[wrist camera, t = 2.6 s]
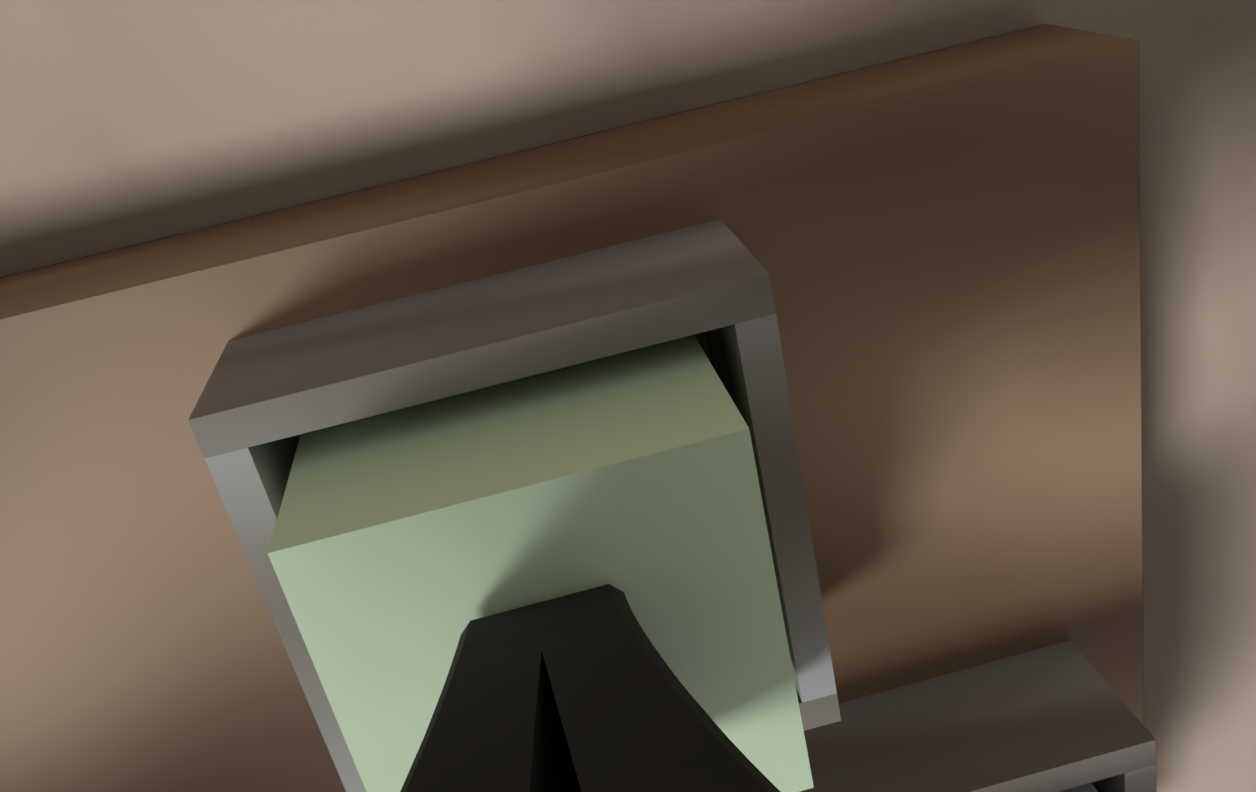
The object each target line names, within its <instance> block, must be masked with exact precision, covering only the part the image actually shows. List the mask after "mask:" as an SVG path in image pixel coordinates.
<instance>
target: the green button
mask: <svg viewBox="0 0 1256 792" xmlns="http://www.w3.org/2000/svg"><path fill="white" fill-rule="evenodd" d="M268 556H269V558H270V561H271V563H272V565H273V568H274V570H275V573H276V575H277V577H278V580H279V582H280V585H281V587H282V589H283V592H284V594H285V597H286V599H287V601H288V604H289V606H290V609H291V611H292V614H293V616H294V618H295V621H296V623H297V626H298V628H299V630H300V633H301V635H302V638H303V640H304V642H305V645H306V647H307V650H308V652H309V655H310V657H311V659H312V662H313V664H314V667H315V669H316V671H317V674H318V676H319V679H320V681H321V683H322V686H323V688H324V691H325V693H326V696H327V698H328V700H329V703H330V705H331V708H332V710H333V712H334V715H335V717H336V720H337V722H338V724H339V727H340V729H341V732H342V734H343V736H344V739H345V741H346V744H347V746H348V749H349V751H350V753H351V756H352V758H353V761H354V763H355V765H356V768H357V770H358V773H359V775H360V777H361V780H362V782H363V785H364V787H365V790H366V792H400V791H401V789H402V787H403V784H404V782H405V780H406V777H407V775H408V773H409V771H410V768H411V766H412V764H413V761H414V759H415V757H416V755H417V752H418V750H419V748H420V745H421V743H422V741H423V738H424V736H425V733H426V731H427V728H428V726H429V723H430V721H431V718H432V715H433V713H434V710H435V708H436V705H437V703H438V700H439V697H440V695H441V692H442V689H443V687H444V684H445V681H446V678H447V675H448V673H449V670H450V667H451V664H452V661H453V658H454V655H455V652H456V649H457V646H458V642H459V639H460V636H461V634H462V632H463V631H464V629H465V628H466V626H467V625H468V623H469V622H470V621H471V620H475V619H478V618H482V617H486V616H490V615H493V614H497V613H501V612H505V611H509V610H512V609H516V608H520V607H524V606H527V605H531V604H535V603H539V602H542V601H546V600H550V599H554V598H558V597H561V596H565V595H569V594H573V593H576V592H580V591H584V590H588V589H591V588H595V587H599V586H603V585H607V584H610V585H612V586H614V587H616V588H617V589H619V590H621V591H623V592H624V593H625V596H626V599H627V601H628V604H629V606H630V608H631V610H632V612H633V613H634V615H635V617H636V619H637V621H638V622H639V624H640V626H641V627H642V629H643V631H644V632H645V634H646V635H647V637H648V638H649V640H650V641H651V643H652V644H653V646H654V647H655V649H656V650H657V651H658V653H659V654H660V655H661V657H662V658H663V660H664V661H665V662H666V664H667V665H668V666H669V668H670V669H671V671H672V672H673V673H674V674H675V676H676V677H677V678H678V679H679V681H680V682H681V683H682V685H683V686H684V687H685V688H686V690H687V691H688V692H689V693H690V694H691V695H692V697H693V698H694V699H695V700H696V701H697V702H698V704H699V705H700V706H701V707H702V708H703V709H704V711H705V712H706V713H707V714H708V715H709V716H710V717H711V719H712V720H713V721H714V722H715V723H716V724H717V726H718V727H719V728H720V729H721V730H722V731H723V733H724V734H725V735H726V736H727V737H728V738H729V739H730V740H731V741H732V742H733V743H734V745H735V746H736V747H737V748H738V749H739V750H740V751H741V752H742V753H743V754H744V755H745V756H746V757H747V758H748V759H749V761H750V762H751V763H752V764H753V765H754V766H755V767H756V768H757V769H758V770H759V771H760V772H761V773H762V774H763V775H764V776H765V777H766V778H767V779H768V780H769V781H770V782H771V783H772V784H773V785H774V786H775V787H776V788H777V789H778V790H779V791H780V792H800V791H803V790H807V789H810V788H814V786H813V780H812V775H811V769H810V763H809V758H808V752H807V747H806V741H805V736H804V730H803V725H802V719H801V713H800V708H799V702H798V697H797V691H796V686H795V680H794V675H793V669H792V663H791V658H790V652H789V647H788V641H787V636H786V630H785V625H784V619H783V613H782V608H781V602H780V597H779V591H778V586H777V580H776V575H775V569H774V563H773V558H772V552H771V547H770V541H769V536H768V530H767V525H766V519H765V513H764V508H763V502H762V497H761V491H760V486H759V480H758V475H757V469H756V463H755V458H754V452H753V447H752V441H751V436H750V430H749V427H748V426H747V424H746V422H745V421H744V419H743V417H742V416H741V414H740V412H739V410H738V409H737V407H736V405H735V404H734V402H733V400H732V399H731V397H730V395H729V393H728V392H727V390H726V388H725V387H724V385H723V383H722V382H721V380H720V378H719V376H718V375H717V373H716V371H715V370H714V368H713V366H712V365H711V363H710V361H709V360H708V358H707V356H706V354H705V353H704V351H703V349H702V348H701V346H700V344H699V343H698V341H697V339H696V337H695V336H694V335H693V336H689V337H685V338H681V339H677V340H673V341H669V342H665V343H661V344H657V345H653V346H650V347H646V348H642V349H638V350H634V351H630V352H626V353H622V354H618V355H614V356H610V357H606V358H602V359H598V360H594V361H590V362H586V363H582V364H579V365H575V366H571V367H567V368H563V369H559V370H555V371H551V372H547V373H543V374H539V375H535V376H531V377H527V378H523V379H519V380H515V381H511V382H508V383H504V384H500V385H496V386H492V387H488V388H484V389H480V390H476V391H472V392H468V393H464V394H460V395H456V396H452V397H448V398H444V399H440V400H437V401H433V402H429V403H425V404H421V405H417V406H413V407H409V408H405V409H401V410H397V411H393V412H389V413H385V414H381V415H377V416H373V417H369V418H366V419H362V420H358V421H354V422H350V423H346V424H342V425H338V426H334V427H330V428H326V429H322V430H318V431H314V432H310V433H306V434H302V435H300V438H299V442H298V446H297V449H296V453H295V456H294V460H293V464H292V467H291V471H290V474H289V478H288V482H287V485H286V489H285V492H284V496H283V499H282V503H281V507H280V510H279V514H278V517H277V521H276V525H275V528H274V532H273V535H272V539H271V543H270V546H269V550H268Z"/></svg>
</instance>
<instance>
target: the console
mask: <svg viewBox="0 0 1256 792" xmlns="http://www.w3.org/2000/svg"><path fill="white" fill-rule="evenodd" d="M693 335H694V336H695V337H696V339H697V341H698V343H699V344H700V346H701V348H702V349H703V351H704V353H705V354H706V356H707V358H708V360H709V361H710V363H711V365H712V366H713V368H714V370H715V371H716V373H717V375H718V376H719V378H720V380H721V382H722V383H723V385H724V387H725V388H726V390H727V392H728V393H729V395H730V397H731V399H732V400H733V402H734V404H735V405H736V407H737V409H738V410H739V412H740V414H741V416H742V417H743V419H744V421H745V422H746V424H747V426H748V427H749V430H750V436H751V441H752V447H753V452H754V458H755V463H756V469H757V475H758V480H759V486H760V491H761V497H762V502H763V508H764V513H765V519H766V525H767V530H768V536H769V541H770V547H771V552H772V558H773V563H774V569H775V575H776V580H777V586H778V591H779V597H780V602H781V608H782V613H783V619H784V625H785V630H786V636H787V641H788V647H789V652H790V658H791V663H792V669H793V675H794V680H795V686H796V691H797V697H798V702H799V708H800V713H801V719H802V725H803V730H804V736H805V741H806V747H807V752H808V758H809V763H810V769H811V775H812V780H813V786H814V788H810V789H807V790H803V791H800V792H1059V791H1063V790H1066V789H1070V788H1074V787H1077V786H1081V785H1084V784H1088V783H1092V785H1093V786H1094V787H1095V789H1096V790H1097V792H1156V739H1155V738H1154V737H1153V736H1152V735H1151V734H1150V732H1149V731H1148V730H1147V729H1146V728H1145V727H1144V725H1143V592H1142V456H1141V321H1140V186H1139V50H1138V41H1134V40H1129V39H1123V38H1118V37H1113V36H1107V35H1102V34H1096V33H1091V32H1086V31H1080V30H1075V29H1069V28H1064V27H1059V26H1053V25H1048V24H1045V25H1041V26H1037V27H1033V28H1029V29H1025V30H1020V31H1016V32H1012V33H1008V34H1004V35H1000V36H996V37H992V38H987V39H983V40H979V41H975V42H971V43H967V44H963V45H959V46H954V47H950V48H946V49H942V50H938V51H934V52H930V53H926V54H921V55H917V56H913V57H909V58H905V59H901V60H897V61H893V62H888V63H884V64H880V65H876V66H872V67H868V68H864V69H860V70H855V71H851V72H847V73H843V74H839V75H835V76H831V77H827V78H822V79H818V80H814V81H810V82H806V83H802V84H798V85H794V86H789V87H785V88H781V89H777V90H773V91H769V92H765V93H761V94H756V95H752V96H748V97H744V98H740V99H736V100H732V101H728V102H723V103H719V104H715V105H711V106H707V107H703V108H699V109H695V110H690V111H686V112H682V113H678V114H674V115H670V116H666V117H662V118H658V119H653V120H649V121H645V122H641V123H637V124H633V125H629V126H625V127H620V128H616V129H612V130H608V131H604V132H600V133H596V134H592V135H587V136H583V137H579V138H575V139H571V140H567V141H563V142H559V143H554V144H550V145H546V146H542V147H538V148H534V149H530V150H526V151H521V152H517V153H513V154H509V155H505V156H501V157H497V158H493V159H488V160H484V161H480V162H476V163H472V164H468V165H464V166H460V167H455V168H451V169H447V170H443V171H439V172H435V173H431V174H427V175H422V176H418V177H414V178H410V179H406V180H402V181H398V182H394V183H389V184H385V185H381V186H377V187H373V188H369V189H365V190H361V191H356V192H352V193H348V194H344V195H340V196H336V197H332V198H328V199H323V200H319V201H315V202H311V203H307V204H303V205H299V206H295V207H290V208H286V209H282V210H278V211H274V212H270V213H266V214H262V215H257V216H253V217H249V218H245V219H241V220H237V221H233V222H229V223H224V224H220V225H216V226H212V227H208V228H204V229H200V230H196V231H191V232H187V233H183V234H179V235H175V236H171V237H167V238H163V239H158V240H154V241H150V242H146V243H142V244H138V245H134V246H130V247H125V248H121V249H117V250H113V251H109V252H105V253H101V254H97V255H92V256H88V257H84V258H80V259H76V260H72V261H68V262H64V263H59V264H55V265H51V266H47V267H43V268H39V269H35V270H31V271H26V272H22V273H18V274H14V275H10V276H6V277H2V278H0V792H366V790H365V787H364V785H363V782H362V780H361V777H360V775H359V773H358V770H357V768H356V765H355V763H354V761H353V758H352V756H351V753H350V751H349V749H348V746H347V744H346V741H345V739H344V736H343V734H342V732H341V729H340V727H339V724H338V722H337V720H336V717H335V715H334V712H333V710H332V708H331V705H330V703H329V700H328V698H327V696H326V693H325V691H324V688H323V686H322V683H321V681H320V679H319V676H318V674H317V671H316V669H315V667H314V664H313V662H312V659H311V657H310V655H309V652H308V650H307V647H306V645H305V642H304V640H303V638H302V635H301V633H300V630H299V628H298V626H297V623H296V621H295V618H294V616H293V614H292V611H291V609H290V606H289V604H288V601H287V599H286V597H285V594H284V592H283V589H282V587H281V585H280V582H279V580H278V577H277V575H276V573H275V570H274V568H273V565H272V563H271V561H270V558H269V556H268V550H269V546H270V543H271V539H272V535H273V532H274V528H275V525H276V521H277V517H278V514H279V510H280V507H281V503H282V499H283V496H284V492H285V489H286V485H287V482H288V478H289V474H290V471H291V467H292V464H293V460H294V456H295V453H296V449H297V446H298V442H299V438H300V435H302V434H306V433H310V432H314V431H318V430H322V429H326V428H330V427H334V426H338V425H342V424H346V423H350V422H354V421H358V420H362V419H366V418H369V417H373V416H377V415H381V414H385V413H389V412H393V411H397V410H401V409H405V408H409V407H413V406H417V405H421V404H425V403H429V402H433V401H437V400H440V399H444V398H448V397H452V396H456V395H460V394H464V393H468V392H472V391H476V390H480V389H484V388H488V387H492V386H496V385H500V384H504V383H508V382H511V381H515V380H519V379H523V378H527V377H531V376H535V375H539V374H543V373H547V372H551V371H555V370H559V369H563V368H567V367H571V366H575V365H579V364H582V363H586V362H590V361H594V360H598V359H602V358H606V357H610V356H614V355H618V354H622V353H626V352H630V351H634V350H638V349H642V348H646V347H650V346H653V345H657V344H661V343H665V342H669V341H673V340H677V339H681V338H685V337H689V336H693Z"/></svg>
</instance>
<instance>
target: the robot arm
mask: <svg viewBox="0 0 1256 792" xmlns="http://www.w3.org/2000/svg"><path fill="white" fill-rule="evenodd" d="M400 792H780V791H779V790H778V789H777V788H776V787H775V786H774V785H773V784H772V783H771V782H770V781H769V780H768V779H767V778H766V777H765V776H764V775H763V774H762V773H761V772H760V771H759V770H758V769H757V768H756V767H755V766H754V765H753V764H752V763H751V762H750V761H749V759H748V758H747V757H746V756H745V755H744V754H743V753H742V752H741V751H740V750H739V749H738V748H737V747H736V746H735V745H734V743H733V742H732V741H731V740H730V739H729V738H728V737H727V736H726V735H725V734H724V733H723V731H722V730H721V729H720V728H719V727H718V726H717V724H716V723H715V722H714V721H713V720H712V719H711V717H710V716H709V715H708V714H707V713H706V712H705V711H704V709H703V708H702V707H701V706H700V705H699V704H698V702H697V701H696V700H695V699H694V698H693V697H692V695H691V694H690V693H689V692H688V691H687V690H686V688H685V687H684V686H683V685H682V683H681V682H680V681H679V679H678V678H677V677H676V676H675V674H674V673H673V672H672V671H671V669H670V668H669V666H668V665H667V664H666V662H665V661H664V660H663V658H662V657H661V655H660V654H659V653H658V651H657V650H656V649H655V647H654V646H653V644H652V643H651V641H650V640H649V638H648V637H647V635H646V634H645V632H644V631H643V629H642V627H641V626H640V624H639V622H638V621H637V619H636V617H635V615H634V613H633V612H632V610H631V608H630V606H629V604H628V601H627V599H626V596H625V593H624V592H623V591H621V590H619V589H617V588H616V587H614V586H612V585H610V584H607V585H603V586H599V587H595V588H591V589H588V590H584V591H580V592H576V593H573V594H569V595H565V596H561V597H558V598H554V599H550V600H546V601H542V602H539V603H535V604H531V605H527V606H524V607H520V608H516V609H512V610H509V611H505V612H501V613H497V614H493V615H490V616H486V617H482V618H478V619H475V620H471V621H470V622H469V623H468V625H467V626H466V628H465V629H464V631H463V632H462V634H461V636H460V639H459V642H458V646H457V649H456V652H455V655H454V658H453V661H452V664H451V667H450V670H449V673H448V675H447V678H446V681H445V684H444V687H443V689H442V692H441V695H440V697H439V700H438V703H437V705H436V708H435V710H434V713H433V715H432V718H431V721H430V723H429V726H428V728H427V731H426V733H425V736H424V738H423V741H422V743H421V745H420V748H419V750H418V752H417V755H416V757H415V759H414V761H413V764H412V766H411V768H410V771H409V773H408V775H407V777H406V780H405V782H404V784H403V787H402V789H401V791H400Z"/></svg>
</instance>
